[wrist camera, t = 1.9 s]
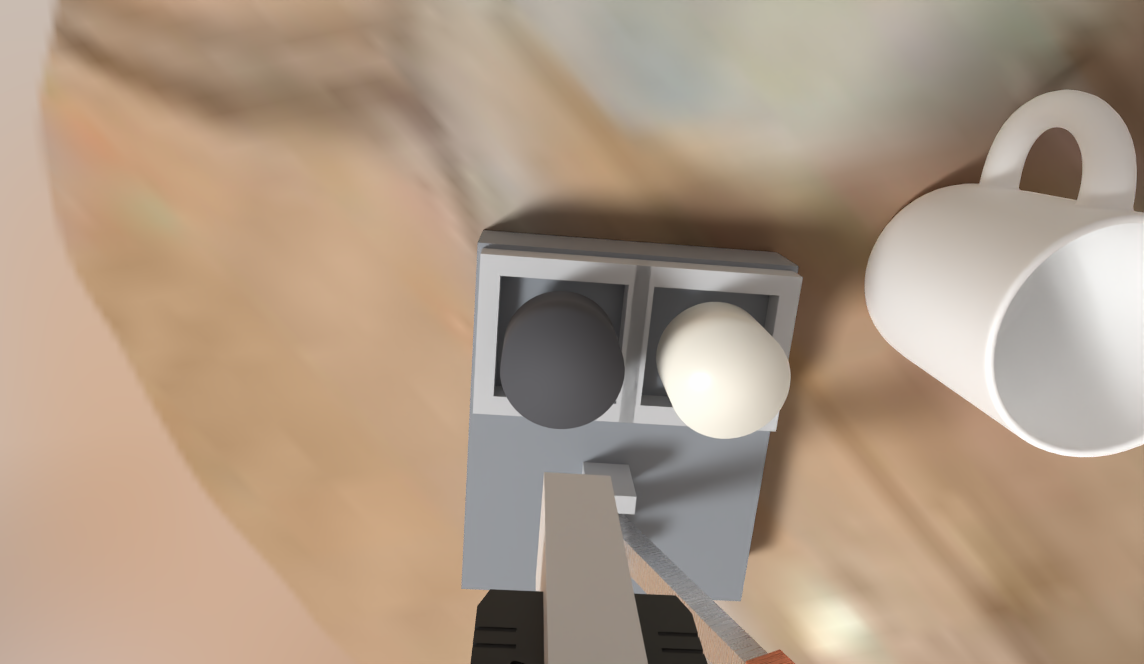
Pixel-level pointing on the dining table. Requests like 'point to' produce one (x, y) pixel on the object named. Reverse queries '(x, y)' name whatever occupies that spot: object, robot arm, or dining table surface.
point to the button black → (561, 361)
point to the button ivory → (722, 370)
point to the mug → (1028, 286)
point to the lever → (692, 603)
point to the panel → (617, 407)
